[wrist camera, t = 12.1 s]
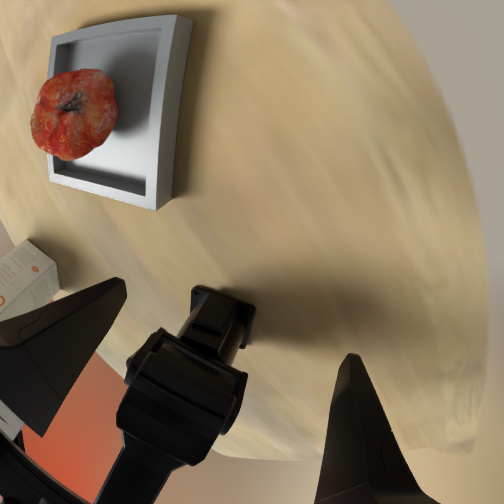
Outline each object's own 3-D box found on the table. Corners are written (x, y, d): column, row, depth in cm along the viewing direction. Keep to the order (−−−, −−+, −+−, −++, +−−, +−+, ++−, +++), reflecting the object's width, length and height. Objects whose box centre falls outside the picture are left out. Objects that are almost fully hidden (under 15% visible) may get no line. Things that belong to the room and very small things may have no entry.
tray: (171, 199, 24) (155, 211, 22) (65, 172, 25) (49, 180, 23) (193, 20, 15) (177, 14, 13) (71, 36, 17) (52, 37, 15)
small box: (31, 266, 38) (-20, 312, 27) (26, 237, 34) (-32, 283, 24) (61, 291, 38) (8, 344, 27) (57, 262, 34) (-5, 317, 23)
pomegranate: (107, 149, 24) (129, 159, 17) (37, 160, 20) (26, 177, 13) (109, 76, 21) (134, 54, 14) (38, 84, 17) (27, 63, 10)
